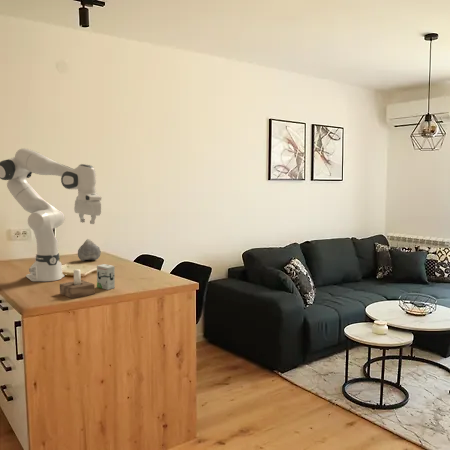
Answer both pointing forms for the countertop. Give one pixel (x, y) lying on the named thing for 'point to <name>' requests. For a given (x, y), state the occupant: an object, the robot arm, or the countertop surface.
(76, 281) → the pin
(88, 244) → the decorative stone
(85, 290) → the bore block
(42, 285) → the countertop surface
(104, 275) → the ink box
